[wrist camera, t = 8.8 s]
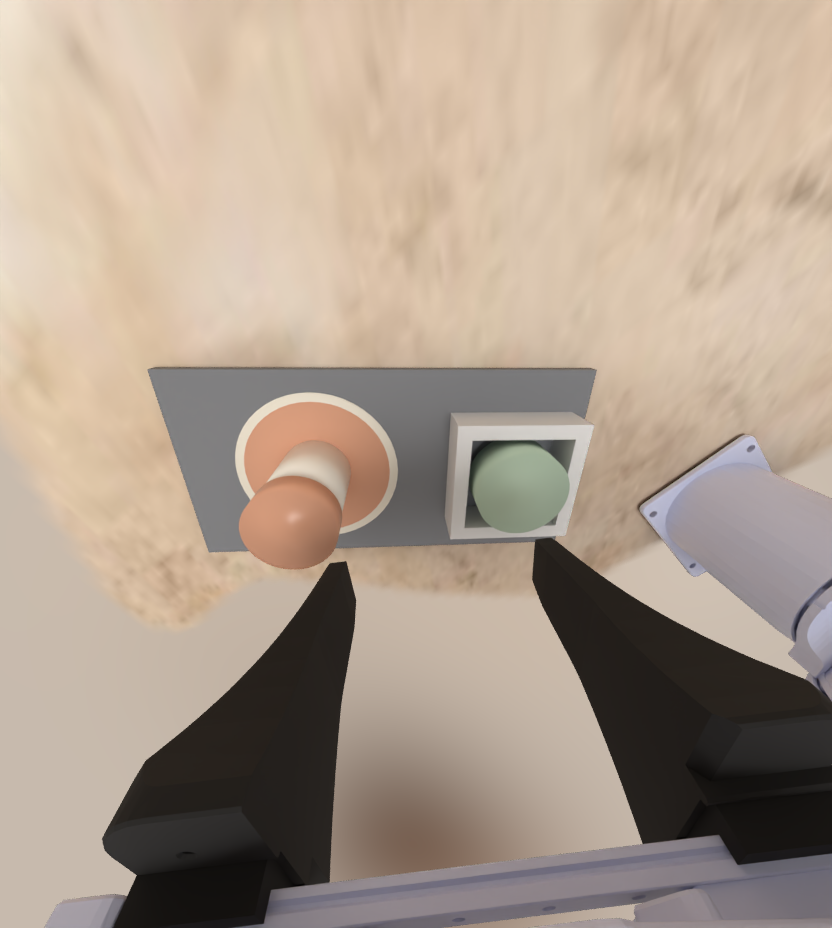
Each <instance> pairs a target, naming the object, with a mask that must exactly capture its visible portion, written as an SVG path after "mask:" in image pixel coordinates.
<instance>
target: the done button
mask: <svg viewBox="0 0 832 928" xmlns="http://www.w3.org/2000/svg"><path fill="white" fill-rule="evenodd" d="M469 488H470V491H471V493H472V495H473V498H474V500H475V502H476V505H477V507H478V510H479V512H480V514H481V516H482V518H483V519H484V520H485V521H486V522H487V523H488V524H489V525H490V526H491V527H493V528H495V529H497V530H499V531H503V532H507V533H524V532H529V531H532V530H535V529H537V528H540V527H541V526H543V525H545V524H547V523H548V522H550V521H551V520H552V519H553V518H554V517H555V516H556V515H557V514H558V513H559V512H560V511H561V509H562V508H563V506H564V505H565V503H566V500H567V498H568V495H569V488H570V483H569V478H568V474H567V472H566V470H565V469H564V467H563V466H562V465H561V464H560V463H559V462H558V461H557V460H556V459H555V458H554V457H553V456H552V455H551V454H550V453H548V452H547V451H546V450H545V449H544V448H543V447H542V446H541V445H540V444H539V443H537V442H536V441H534V440H496V441H493V442H492V443H490V444H488V445H487V446H486V447H484V448H483V449H482V450H481V451H480V452H479V453H478V454H477V455H476V457H475V458H474V460H473V462H472V464H471V466H470V473H469Z"/></svg>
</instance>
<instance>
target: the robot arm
mask: <svg viewBox="0 0 832 928" xmlns="http://www.w3.org/2000/svg"><path fill="white" fill-rule="evenodd" d="M640 512H641V513H642V515H643V516H644V517H645V518H646V520H647V521H648V522H649V524H650V525H651V526H652V527H653V529H654V530H655V531H656V532H657V534H658V535H659V536H660V537H661V539H662V540H663V541H664V542H665V544H666V545H667V546H668V547H669V548H670V550H671V551H672V553H673V554H674V555H675V556H676V558H677V559H678V560H679V561H680V563H681V564H682V565H683V566H684V568H685V569H686V570H687V572H688V573H689V574H691V575H692V576H699V575H701V574H703V573H704V572H706V571H707V572H708V573H710V574H711V575H712V576H713V577H714V578H716V579H717V580H718V581H719V582H720V583H722V584H723V585H724V586H725V587H726V588H728V589H729V590H730V591H731V592H732V593H734V594H735V595H736V596H737V597H738V598H740V599H741V600H742V601H743V602H744V603H745V604H747V605H748V606H749V607H750V608H751V609H753V610H754V611H755V612H756V613H758V614H759V615H760V616H761V617H762V618H763V619H765V620H766V621H767V622H768V623H769V624H771V625H772V626H773V627H774V628H775V629H777V630H778V631H779V632H781V633H782V634H784V635H785V636H786V637H788V638H790V639H791V640H792V641H793V642H794V643H795V645H794V647H793V648H792V649H791V651H790V652H789V653H788V654H789V656H791V657H792V658H793V659H794V660H795V661H796V662H797V663H799V664H800V665H801V666H802V667H803V668H804V669H805V670H807V671H808V672H809V673H808V674H807V677H806V679H803V678H801V677H798V676H796V675H793V674H790V673H788V672H785V671H783V670H780V669H778V668H775V667H773V666H770V665H768V664H765V663H763V662H760V661H757V660H755V659H753V658H751V657H748V656H746V655H744V654H741V653H739V652H737V651H735V650H732V649H730V648H728V647H726V646H723V645H721V644H719V643H717V642H715V641H713V640H711V639H708V638H706V637H704V636H702V635H700V634H698V633H696V632H694V631H692V630H691V629H689V628H687V627H685V626H683V625H681V624H679V623H677V622H675V621H673V620H671V619H669V618H668V617H666V616H664V615H662V614H660V613H659V612H657V611H655V610H654V609H652V608H650V607H649V606H647V605H645V604H643V603H642V602H640V601H638V600H637V599H635V598H634V597H632V596H630V595H629V594H627V593H626V592H624V591H623V590H621V589H620V588H618V587H617V586H615V585H614V584H612V583H611V582H610V581H608V580H607V579H605V578H604V577H602V576H601V575H600V574H598V573H597V572H596V571H594V570H593V569H591V568H590V567H589V566H587V565H586V564H585V563H584V562H582V561H581V560H580V559H578V558H577V557H576V556H574V555H573V554H572V553H571V552H569V551H568V550H567V549H565V548H564V547H563V546H562V545H560V544H559V543H558V542H557V541H555V540H554V539H553V538H542V539H535V549H534V563H533V576H532V580H533V583H534V586H535V588H536V591H537V594H538V596H539V599H540V601H541V603H542V606H543V608H544V610H545V612H546V614H547V616H548V617H549V620H550V622H551V623H552V625H553V627H554V629H555V631H556V633H557V635H558V637H559V638H560V640H561V642H562V644H563V646H564V648H565V650H566V651H567V654H568V655H569V657H570V659H571V661H572V663H573V665H574V667H575V669H576V671H577V673H578V675H579V678H580V680H581V682H582V685H583V687H584V689H585V692H586V694H587V697H588V699H589V701H590V703H591V706H592V708H593V711H594V713H595V716H596V718H597V721H598V723H599V726H600V728H601V731H602V733H603V736H604V738H605V741H606V743H607V746H608V749H609V751H610V754H611V756H612V759H613V762H614V765H615V767H616V770H617V773H618V775H619V778H620V780H621V783H622V786H623V789H624V791H625V794H626V797H627V800H628V803H629V806H630V809H631V811H632V814H633V817H634V820H635V823H636V826H637V828H638V831H639V834H640V837H641V840H642V843H643V844H640V845H632V846H624V847H616V848H608V849H600V850H592V851H583V852H575V853H567V854H559V855H551V856H543V857H535V858H527V859H518V860H510V861H502V862H494V863H486V864H478V865H470V866H462V867H454V868H446V869H437V870H429V871H422V872H413V873H405V874H397V875H389V876H380V877H372V878H364V879H356V880H348V881H340V882H332V883H329V881H330V858H331V836H332V815H333V800H334V785H335V770H336V758H337V744H338V733H339V722H340V711H341V702H342V695H343V689H344V683H345V677H346V672H347V666H348V661H349V655H350V650H351V644H352V638H353V632H354V624H355V609H356V598H355V594H354V590H353V586H352V582H351V578H350V574H349V570H348V566H347V563H346V561H345V562H337V563H330V564H329V565H328V567H327V568H326V570H325V571H324V573H323V575H322V576H321V578H320V579H319V581H318V582H317V584H316V585H315V587H314V588H313V590H312V592H311V593H310V594H309V596H308V597H307V599H306V600H305V602H304V603H303V605H302V606H301V607H300V609H299V610H298V612H297V613H296V614H295V616H294V617H293V618H292V620H291V621H290V622H289V624H288V625H287V626H286V628H285V629H284V630H283V632H282V633H281V634H280V636H278V638H277V639H276V640H275V641H274V643H273V644H272V645H271V646H270V647H269V649H268V650H267V651H266V652H265V653H264V654H263V655H262V656H261V658H260V659H259V660H258V661H257V662H256V663H255V664H254V665H253V666H252V667H251V668H250V669H249V670H248V671H247V672H246V673H245V674H244V675H243V677H242V678H241V679H240V680H239V681H238V682H237V683H236V684H235V685H234V686H233V687H232V688H231V689H230V690H229V691H228V692H227V693H225V694H224V695H223V696H222V697H221V698H220V699H219V700H218V701H217V702H216V703H215V704H213V705H212V706H211V707H210V708H209V709H208V710H207V711H206V712H204V713H203V714H202V715H201V716H200V717H199V718H198V719H197V720H195V721H194V722H193V723H192V724H191V725H189V726H188V727H187V728H186V729H185V730H184V731H182V732H181V733H180V734H179V735H177V736H176V737H175V738H174V739H172V740H171V741H170V742H169V743H167V744H166V745H165V746H164V747H163V748H161V749H160V750H159V751H158V752H156V753H155V754H154V755H152V756H151V757H150V758H149V759H147V760H146V761H145V763H144V764H143V766H142V768H141V769H140V771H139V773H138V774H137V776H136V778H135V779H134V781H133V783H132V784H131V786H130V788H129V790H128V792H127V794H126V795H125V797H124V799H123V801H122V803H121V805H120V807H119V808H118V810H117V812H116V814H115V816H114V817H113V819H112V821H111V823H110V825H109V826H108V828H107V830H106V832H105V834H104V836H103V838H102V840H103V845H104V849H105V851H106V852H107V853H108V854H109V855H110V856H111V857H112V858H114V859H115V860H116V861H118V862H119V863H121V864H122V865H123V866H125V867H126V868H128V869H129V870H130V871H132V872H133V873H135V874H136V875H137V876H136V878H135V881H134V883H133V885H132V887H131V889H130V892H129V894H128V896H124V895H116V894H115V895H114V894H110V895H100V896H92V897H84V898H76V899H68V900H63V901H62V902H60V903H59V904H58V905H57V906H56V908H55V909H54V911H53V913H52V914H51V916H50V918H49V920H48V922H47V924H46V925H45V927H44V928H444V927H452V926H460V925H468V924H475V923H484V922H491V921H500V920H508V919H516V918H524V917H531V916H540V915H548V914H556V913H564V912H572V911H581V910H589V909H596V908H605V907H613V906H620V905H629V904H637V903H642V904H639V905H636V906H635V909H634V914H635V919H634V921H631V920H626V919H620V918H614V919H613V918H612V919H594V920H587V921H577V922H570V923H562V924H554V925H545V926H537V927H529V928H832V498H829V497H827V496H825V495H822V494H820V493H818V492H815V491H813V490H811V489H809V488H806V487H804V486H802V485H799V484H797V483H795V482H792V481H790V480H788V479H785V478H783V477H781V476H778V475H776V474H774V473H773V472H772V470H771V468H770V466H769V464H768V462H767V460H766V459H765V457H764V455H763V453H762V451H761V449H760V447H759V445H758V443H757V441H756V439H755V437H753V436H750V435H743V436H741V437H739V438H738V439H736V440H735V441H733V442H732V443H730V444H729V445H727V446H726V447H725V448H723V449H722V450H720V451H719V452H717V453H716V454H714V455H713V456H711V457H710V458H709V459H707V460H706V461H704V462H703V463H701V464H700V465H698V466H697V467H695V468H694V469H693V470H691V471H690V472H688V473H687V474H685V475H684V476H682V477H681V478H679V479H678V480H677V481H675V482H674V483H672V484H671V485H669V486H668V487H666V488H665V489H663V490H662V491H661V492H659V493H658V494H656V495H655V496H653V497H652V498H650V499H649V500H647V501H646V502H645V503H643V504H642V505H641V506H640ZM651 512H652V513H651ZM650 513H651V514H650Z"/></svg>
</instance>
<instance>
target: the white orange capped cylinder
mask: <svg viewBox="0 0 832 928" xmlns="http://www.w3.org/2000/svg"><path fill="white" fill-rule="evenodd" d="M350 477H351V468H350V464H349V462H348V459H347V458H346V456H345V455H344V454H343V452H341V451H340V450H339V449H338V448H337V447H335V446H333V445H332V444H329V443H327V442H323V441H317V440H311V441H305V442H302V443H299V444H297V445H296V446H294V447H293V448H292V449H291V450H290V451H289V452H288V453H287V455H286V456H285V457H284V459H283V460H282V461H281V463H280V464H279V466H278V467H277V468H276V470H275V471H274V473H273V474H272V475H271V477H270V478H269V480H268V481H267V482H266V483H265V484H264V485H263V486H262V487H261V488H260V489H259V490H258V491H257V492H256V494H255V495H254V496H253V498H252V499H251V500H250V502H249V503H248V505H247V506H246V507H245V509H244V510H243V512H242V514H241V517H240V520H239V532H240V536H241V539H242V541H243V543H244V545H245V546H246V547H247V549H248V550H249V551H250V552H251V553H252V554H253V555H254V556H255V557H257V558H258V559H260V560H261V561H263V562H265V563H267V564H269V565H272V566H275V567H278V568H283V569H304V568H309V567H312V566H315V565H317V564H319V563H321V562H323V561H324V560H325V559H327V558H328V557H329V556H330V555H331V554H332V552H333V551H334V549H335V547H336V544H337V541H338V537H339V532H340V528H341V524H342V511H343V507H344V503H345V498H346V494H347V490H348V486H349V482H350Z"/></svg>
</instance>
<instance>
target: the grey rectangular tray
mask: <svg viewBox="0 0 832 928" xmlns="http://www.w3.org/2000/svg"><path fill="white" fill-rule="evenodd" d="M147 370H148V373H149V376H150V379H151V382H152V385H153V388H154V391H155V394H156V397H157V400H158V403H159V406H160V409H161V412H162V415H163V418H164V421H165V424H166V427H167V429H168V432H169V435H170V438H171V441H172V444H173V447H174V450H175V453H176V456H177V459H178V462H179V465H180V468H181V471H182V474H183V477H184V480H185V483H186V486H187V489H188V492H189V495H190V498H191V501H192V504H193V507H194V510H195V513H196V516H197V519H198V522H199V525H200V527H201V530H202V533H203V536H204V539H205V542H206V545H207V548H208V551H209V552H235V551H249V550H248V549H247V547H246V546H245V545H244V543H243V541H242V539H241V536H240V532H239V520H240V517H241V514H242V512H243V510H244V509H245V507H246V506H247V505H248V503H249V502H250V500H251V499H252V498H253V496H254V495H255V494H256V492H257V491H258V490H259V489H260V488H261V487H262V486H263V485H264V484H265V483H266V482H267V481H268V480H269V478H270V477H271V475H272V474H273V473H274V471H275V470H276V468H277V467H278V466H279V464H280V463H281V461H282V460H283V459H284V457H285V456H286V455H287V453H288V452H289V451H290V450H291V449H292V448H293V447H294V446H296V445H297V444H299V443H302V442H305V441H311V440H317V441H323V442H327V443H329V444H332V445H333V446H335V447H337V448H338V449H339V450H340V451H341V452H343V454H344V455H345V456H346V458H347V459H348V462H349V464H350V468H351V477H350V482H349V486H348V490H347V494H346V498H345V503H344V507H343V511H342V524H341V528H340V532H339V537H338V541H337V544H336V547H335V548H360V547H391V546H422V545H454V544H485V543H516V542H535V539H542V538H553V539H554V540H555V537H556V536H565V535H566V532H567V528H568V524H569V520H570V516H571V513H572V509H573V505H574V501H575V497H576V494H577V490H578V486H579V482H580V478H581V474H582V471H583V467H584V463H585V459H586V455H587V452H588V448H589V444H590V440H591V436H592V432H593V429H594V424H592V423H590V422H588V421H587V420H585V416H586V412H587V407H588V403H589V399H590V395H591V391H592V387H593V383H594V379H595V375H596V371H597V370H594V369H591V368H175V367H155V368H151V369H147ZM496 440H534V441H536V442H537V443H539V444H540V445H541V446H542V447H543V448H544V449H545V450H546V451H547V452H548V453H550V454H551V455H552V456H553V457H554V458H555V459H556V460H557V461H558V462H559V463H560V464H561V465H562V466H563V467H564V469H565V470H566V472H567V474H568V478H569V483H570V488H569V495H568V498H567V500H566V503H565V505H564V506H563V508H562V509H561V511H560V512H559V513H558V514H557V515H556V516H555V517H554V518H553V519H552V520H551V521H550V522H548V523H547V524H545V525H543V526H541V527H540V528H537V529H535V530H532V531H529V532H524V533H507V532H503V531H499V530H497V529H495V528H493V527H491V526H490V525H489V524H488V523H487V522H486V521H485V520H484V519H483V518H482V516H481V514H480V512H479V510H478V507H477V505H476V502H475V500H474V498H473V495H472V493H471V491H470V488H469V473H470V466H471V464H472V462H473V460H474V458H475V457H476V455H477V454H478V453H479V452H480V451H481V450H482V449H483V448H484V447H486V446H487V445H488V444H490V443H492V442H493V441H496Z"/></svg>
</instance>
